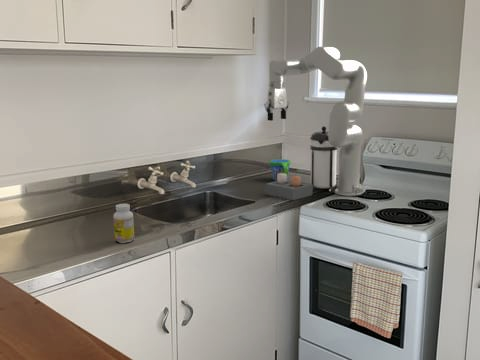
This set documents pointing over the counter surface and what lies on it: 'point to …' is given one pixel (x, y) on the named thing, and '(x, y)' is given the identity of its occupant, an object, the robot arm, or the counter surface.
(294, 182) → the terracotta plug
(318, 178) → the coffee press
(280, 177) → the plug
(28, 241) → the counter surface
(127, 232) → the supplement bottle
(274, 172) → the snack cup
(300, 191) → the block
